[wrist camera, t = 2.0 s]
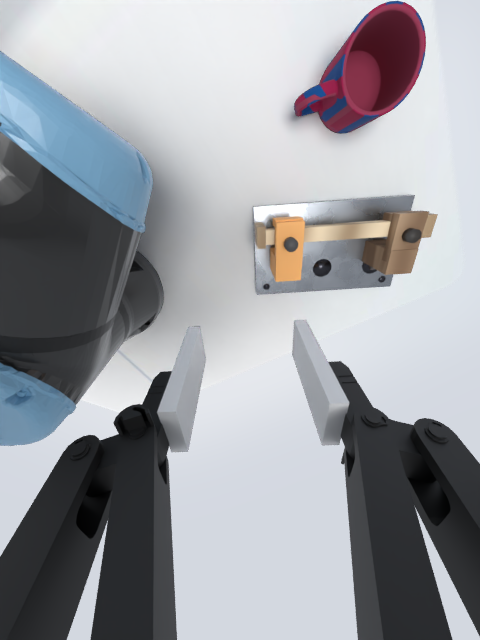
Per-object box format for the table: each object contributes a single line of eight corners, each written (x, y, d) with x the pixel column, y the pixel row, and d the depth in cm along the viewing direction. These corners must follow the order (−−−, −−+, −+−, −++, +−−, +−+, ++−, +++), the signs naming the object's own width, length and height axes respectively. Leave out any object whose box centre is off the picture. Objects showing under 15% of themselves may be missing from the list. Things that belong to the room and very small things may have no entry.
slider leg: (270, 275, 33) (276, 293, 27) (270, 215, 29) (278, 222, 23) (290, 274, 33) (302, 292, 27) (293, 214, 29) (307, 219, 23)
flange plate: (256, 291, 36) (256, 294, 35) (253, 206, 30) (253, 207, 29) (385, 283, 35) (390, 286, 34) (408, 195, 29) (415, 195, 28)
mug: (377, 125, 26) (418, 106, 20) (289, 147, 27) (303, 134, 21) (383, 40, 23) (434, -12, 17) (283, 68, 24) (298, 27, 18)
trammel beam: (256, 275, 33) (260, 294, 27) (254, 218, 30) (258, 225, 24) (395, 266, 33) (430, 283, 27) (411, 206, 29) (456, 211, 23)
